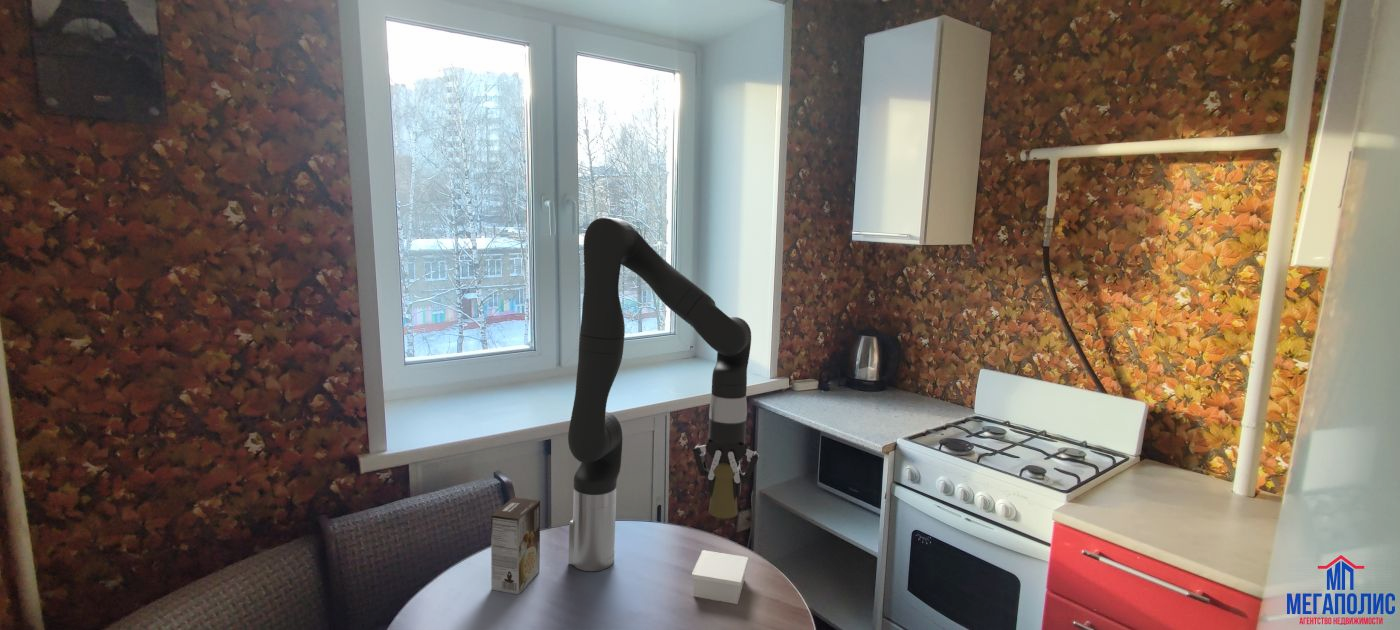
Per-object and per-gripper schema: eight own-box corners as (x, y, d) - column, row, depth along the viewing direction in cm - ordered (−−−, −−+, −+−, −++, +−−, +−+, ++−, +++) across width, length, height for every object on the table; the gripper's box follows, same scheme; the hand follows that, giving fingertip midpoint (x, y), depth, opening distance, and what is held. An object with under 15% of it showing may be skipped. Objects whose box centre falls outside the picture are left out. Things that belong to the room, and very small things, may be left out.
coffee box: (512, 567, 131) (513, 495, 129) (540, 571, 130) (541, 499, 128) (490, 590, 122) (490, 514, 120) (519, 595, 121) (520, 518, 119)
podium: (690, 597, 123) (691, 574, 123) (701, 571, 133) (702, 550, 132) (739, 606, 121) (740, 582, 121) (746, 579, 131) (748, 557, 130)
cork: (715, 503, 130) (717, 453, 129) (742, 509, 128) (744, 458, 126) (703, 514, 125) (706, 462, 123) (731, 521, 122) (733, 468, 121)
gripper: (689, 417, 121) (686, 500, 124) (760, 425, 119) (756, 509, 121) (697, 408, 129) (694, 486, 131) (764, 414, 126) (760, 494, 128)
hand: (724, 496), depth 126 cm, fingers closed on cork, 4 cm apart
